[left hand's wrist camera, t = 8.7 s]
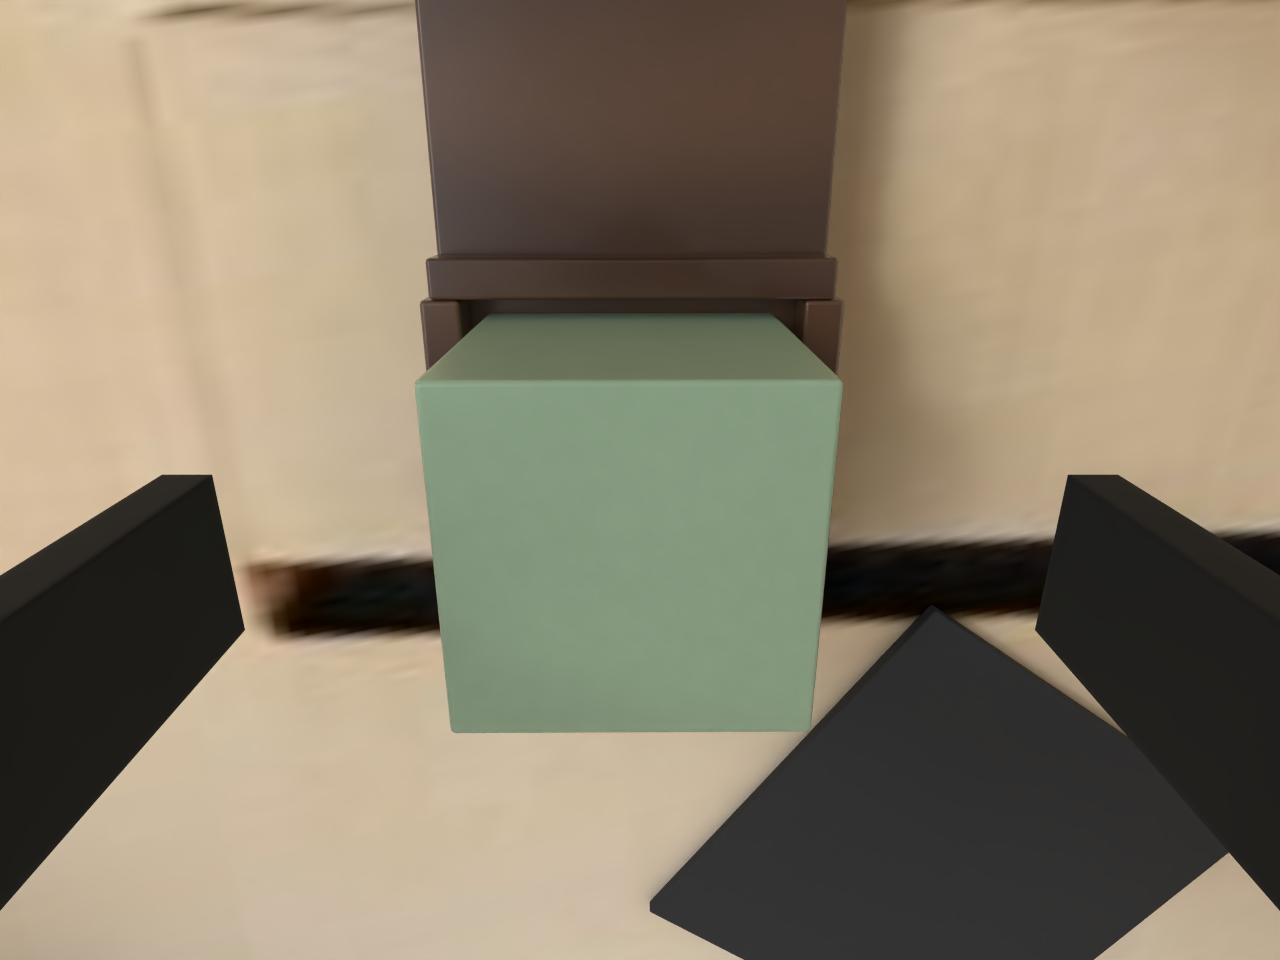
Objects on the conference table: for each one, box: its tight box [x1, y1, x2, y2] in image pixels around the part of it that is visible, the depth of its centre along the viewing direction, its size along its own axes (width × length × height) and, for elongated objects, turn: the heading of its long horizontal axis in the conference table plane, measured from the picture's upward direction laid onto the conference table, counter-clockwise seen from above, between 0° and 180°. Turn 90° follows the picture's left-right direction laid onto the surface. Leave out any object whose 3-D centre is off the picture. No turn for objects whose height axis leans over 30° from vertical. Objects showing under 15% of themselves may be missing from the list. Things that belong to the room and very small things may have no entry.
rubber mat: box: [650, 605, 1229, 960], centre depth 26 cm, size 14×14×1 cm
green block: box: [415, 313, 843, 733], centre depth 15 cm, size 6×6×6 cm
